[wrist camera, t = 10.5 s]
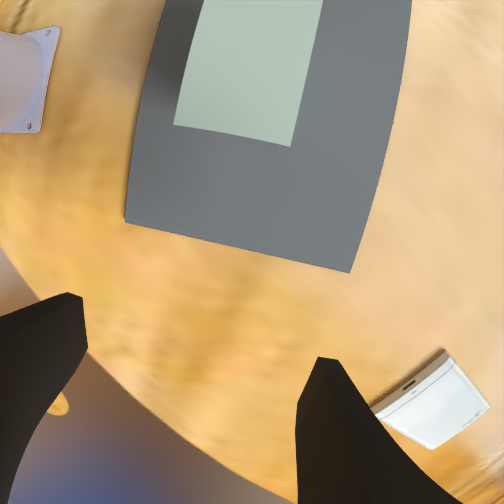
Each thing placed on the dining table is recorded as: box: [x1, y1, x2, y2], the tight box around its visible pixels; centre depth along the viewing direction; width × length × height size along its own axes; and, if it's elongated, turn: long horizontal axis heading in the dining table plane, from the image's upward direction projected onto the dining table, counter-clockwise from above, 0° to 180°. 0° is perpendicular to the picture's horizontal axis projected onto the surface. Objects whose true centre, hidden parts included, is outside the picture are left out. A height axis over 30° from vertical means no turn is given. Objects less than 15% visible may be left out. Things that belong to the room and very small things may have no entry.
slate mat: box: [125, 0, 412, 273], centre depth 15 cm, size 14×18×1 cm
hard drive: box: [370, 351, 490, 450], centre depth 22 cm, size 2×8×12 cm
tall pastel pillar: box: [173, 0, 323, 147], centre depth 10 cm, size 3×6×9 cm, turn 168°
